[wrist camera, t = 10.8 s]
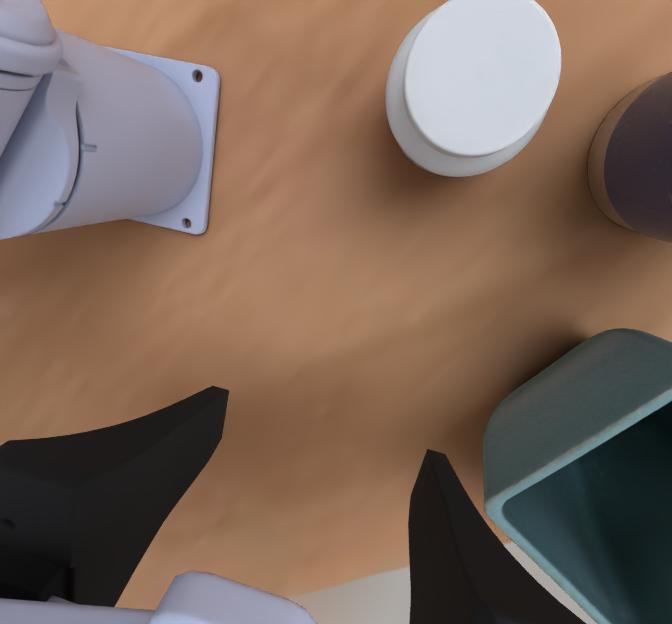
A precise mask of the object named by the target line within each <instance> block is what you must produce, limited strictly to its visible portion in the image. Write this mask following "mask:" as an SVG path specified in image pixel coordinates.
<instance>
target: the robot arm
mask: <svg viewBox="0 0 672 624" xmlns="http://www.w3.org/2000/svg"><path fill="white" fill-rule="evenodd" d="M198 72H201V73H202V76H203V77H202V80H201V81H200V82H197V80H196V75H197V73H198ZM219 91H220V76H219V73H218V72H217V71H216V70H215V69H213V68H211V67H209V66H204V65H199V64H194V63H189V62H184V61H178V60H173V59H168V58H163V57H157V56H152V55H147V54H142V53H137V52H131V51H126V50H121V49H116V48H111V47H105V46H100V45H97V44H95V43H92V42H90V41H87V40H85V39H82V38H80V37H77V36H75V35H72V34H70V33H67V32H65V31H62V30H60V29H57V28H55V27H53V25H52V23H51V20H50V18H49V15H48V13H47V11H46V8H45V7H44V5H43V3H42V2H41V0H0V240H2V239H6V238H12V237H18V236H24V235H30V234H36V233H42V232H48V231H54V230H60V229H66V228H72V227H78V226H84V225H90V224H96V223H103V222H109V221H115V220H121V219H130V220H135V221H139V222H143V223H148V224H152V225H156V226H160V227H165V228H169V229H173V230H178V231H182V232H186V233H190V234H195V235H199V234H202V233H204V232H205V231H206V229H207V223H208V212H209V201H210V190H211V179H212V168H213V157H214V146H215V135H216V124H217V113H218V102H219ZM186 219H189V220H190V221H191V226H190V227H188V226H187V225H186V222H185V221H186ZM228 395H229V390H226V389H223V388H219V387H216V386H212V387H209V388H207V389H205V390H203V391H201V392H198V393H196V394H194V395H192V396H190V397H188V398H186V399H184V400H181V401H179V402H177V403H175V404H173V405H170V406H168V407H166V408H163V409H161V410H158V411H156V412H153V413H151V414H148V415H146V416H143V417H140V418H137V419H134V420H131V421H128V422H124V423H121V424H118V425H114V426H110V427H106V428H101V429H97V430H92V431H88V432H83V433H77V434H71V435H65V436H58V437H50V438H39V439H26V440H10V441H7V442H6V443H4V444H3V445H1V446H0V624H317V623H316V622H315V621H314V619H313V618H312V617H311V615H310V614H309V613H308V611H307V610H306V609H305V608H303V607H302V606H300V605H298V604H296V603H295V602H293V601H291V600H289V599H286V598H283V597H280V596H277V595H274V594H271V593H268V592H265V591H262V590H259V589H256V588H253V587H250V586H247V585H244V584H241V583H238V582H236V581H233V580H230V579H227V578H224V577H221V576H218V575H215V574H212V573H207V572H199V571H189V572H186V573H184V574H181V575H178V576H176V577H175V578H174V580H173V582H172V583H171V585H170V587H169V588H168V590H167V592H166V594H165V595H164V597H163V599H162V600H161V602H160V604H159V606H158V607H157V609H156V610H144V609H131V608H118V607H115V605H116V603H117V601H118V599H119V598H120V596H121V594H122V592H123V590H124V589H125V587H126V585H127V583H128V581H129V580H130V578H131V576H132V574H133V573H134V571H135V569H136V567H137V566H138V564H139V562H140V560H141V559H142V557H143V555H144V554H145V552H146V550H147V548H148V547H149V545H150V543H151V542H152V540H153V539H154V537H155V535H156V534H157V532H158V530H159V529H160V527H161V525H162V524H163V522H164V521H165V519H166V518H167V516H168V515H169V513H170V512H171V511H172V509H173V508H174V507H175V505H176V504H177V503H178V501H179V500H180V499H181V497H182V496H183V495H184V493H185V492H186V491H187V489H188V488H189V487H190V485H191V484H192V483H193V481H194V480H195V479H196V477H197V476H198V475H199V473H200V472H201V471H202V469H203V468H204V467H205V465H206V464H207V463H208V461H209V460H210V458H211V456H212V454H213V453H214V451H215V449H216V447H217V446H218V444H219V442H220V440H221V438H222V433H223V427H224V420H225V414H226V408H227V401H228ZM408 528H409V556H410V580H411V607H410V624H586V623H585V622H583V621H582V620H581V619H580V618H579V617H577V616H576V615H575V614H574V613H572V612H571V611H570V610H569V609H568V608H566V607H565V606H564V605H563V604H561V603H560V602H559V601H558V600H557V599H556V598H554V597H553V596H552V595H551V594H550V593H549V592H548V591H547V590H546V589H545V588H543V587H542V586H541V585H540V584H539V583H538V582H537V581H536V580H535V579H534V578H533V577H532V576H531V575H530V574H529V573H528V572H527V571H526V570H525V569H524V568H523V567H522V566H521V564H520V563H519V562H518V561H517V560H515V558H514V557H513V556H512V555H511V553H510V552H509V551H508V550H507V549H506V548H505V547H504V545H503V544H502V543H501V542H500V540H499V539H498V538H497V537H496V535H495V534H494V533H493V532H492V530H491V529H490V528H489V526H488V525H487V523H486V522H485V521H484V519H483V518H482V516H481V515H480V513H479V512H478V510H477V509H476V507H475V506H474V504H473V503H472V501H471V499H470V498H469V496H468V494H467V493H466V491H465V489H464V488H463V486H462V484H461V482H460V480H459V479H458V477H457V475H456V473H455V471H454V469H453V468H452V466H451V464H450V462H449V460H448V458H447V457H446V455H445V454H443V453H440V452H436V451H433V450H429V449H427V452H426V455H425V457H424V460H423V463H422V466H421V468H420V471H419V474H418V477H417V480H416V482H415V485H414V488H413V491H412V494H411V499H410V509H409V522H408Z"/></svg>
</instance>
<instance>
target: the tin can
mask: <svg viewBox="0 0 672 624" xmlns="http://www.w3.org/2000/svg"><path fill="white" fill-rule="evenodd" d="M587 173H588V182H589V186H590V190H591V193H592V195H593V198H594V200H595V202H596V203H597V205H598V207H599V208H600V209H601V210H602V212H603V213H604V214H605V215H606V216H607V217H608V218H610V219H611V220H612V221H613V222H615V223H617V224H618V225H620V226H622V227H624V228H627V229H629V230H633V231H636V232H640V233H642V234H645V235H647V236H649V237H653V238H656V239H660V240H663V241H667V242H670V243H672V72H670V73H668V74H666V75H663V76H660V77H658V78H656V79H653V80H651V81H649V82H647V83H645V84H643V85H641V86H640V87H638V88H637V89H635V90H634V91H632V92H631V93H629V94H628V95H627V96H626V97H625V98H623V99H622V100H621V101H620V102H619V103H618V104H617V105H616V106H615V107H614V108H613V109H612V110H611V111H610V113H609V114H608V115H607V117H606V118H605V119H604V121H603V122H602V124H601V126H600V128H599V129H598V131H597V133H596V135H595V138H594V140H593V143H592V146H591V149H590V153H589V159H588V172H587Z"/></svg>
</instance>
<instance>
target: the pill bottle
mask: <svg viewBox="0 0 672 624" xmlns="http://www.w3.org/2000/svg"><path fill="white" fill-rule="evenodd" d="M560 71H561V48H560V43H559V39H558V36H557V32H556V29H555V27H554V25H553V23H552V21H551V19H550V18H549V16H548V15H547V13H546V12H545V11H544V9H543V8H542V7H541V6H540V5H539V4H538V3H536V2H535V1H534V0H449V1H447V2H446V3H444V4H443V5H442V6H440V7H438V8H437V9H435V10H433V11H432V12H431V13H429V14H428V15H427V16H425V17H424V18H423V19H422V20H421V21H419V22H418V23H417V24H416V25H415V26H414V28H413V29H412V30H411V31H410V32H409V33H408V35H407V36H406V37H405V39H404V40H403V42H402V43H401V45H400V46H399V48H398V50H397V52H396V54H395V56H394V59H393V61H392V63H391V67H390V70H389V74H388V78H387V84H386V94H385V100H386V101H385V102H386V111H387V117H388V121H389V125H390V128H391V131H392V133H393V135H394V137H395V140H396V141H397V142H398V144H399V146H400V148H401V150H402V151H403V153H404V154H405V156H406V157H407V158H408V159H409V160H410V161H411V162H413V163H414V164H415V165H417V166H418V167H420V168H421V169H424V170H426V171H428V172H431V173H435V174H438V175H443V176H447V177H468V176H474V175H479V174H482V173H485V172H488V171H491V170H493V169H495V168H497V167H499V166H501V165H503V164H504V163H506V162H507V161H509V160H510V159H512V158H513V157H514V156H516V155H517V154H518V153H519V152H520V151H521V150H522V149H523V148H524V147H525V146H526V145H527V144H528V143H529V142H530V140H531V139H532V138H533V137H534V135H535V134H536V132H537V131H538V129H539V127H540V126H541V124H542V122H543V120H544V118H545V116H546V113H547V111H548V108H549V105H550V104H551V101H552V99H553V97H554V95H555V92H556V89H557V86H558V82H559V78H560Z"/></svg>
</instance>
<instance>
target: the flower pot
mask: <svg viewBox="0 0 672 624" xmlns="http://www.w3.org/2000/svg"><path fill="white" fill-rule="evenodd" d="M483 474H484V510H485V513H486V515H487V516H488V517H489V518H490V520H491V521H492V522H493V523H494V524H495V525H496V526H497V527H498V528H500V529H501V530H502V531H503V532H504V533H505V534H506V535H507V536H508V537H509V538H510V539H511V540H512V541H513V542H514V543H515V544H517V546H518V547H519V548H520V549H522V550H523V551H524V552H525V553H526V554H527V555H528V556H529V557H530V558H531V559H532V560H533V561H534V562H535V563H536V564H537V565H538V566H539V567H540V568H541V569H542V570H543V571H544V572H545V573H546V574H547V575H549V576H550V577H551V578H552V579H553V580H554V581H555V582H556V583H557V584H558V585H559V586H560V587H561V588H562V589H563V590H564V591H565V592H566V593H567V594H568V595H569V596H570V597H571V598H572V599H573V600H574V601H575V602H576V603H577V604H578V605H579V606H580V607H581V608H582V609H583V610H584V611H585V612H586V613H587V614H588V615H589V616H590V617H591V618H592V619H593V620H594V621H595V622H596V623H598V624H672V343H671V342H669V341H667V340H664V339H662V338H659V337H657V336H654V335H652V334H649V333H646V332H643V331H639V330H634V329H625V328H622V329H611V330H607V331H604V332H601V333H598V334H596V335H594V336H592V337H591V338H589V339H587V340H585V341H583V342H582V343H581V344H579V345H578V346H576V347H575V348H574V349H572V350H571V351H569V352H568V353H567V354H565V355H564V356H562V357H561V358H560V359H558V360H557V361H555V362H554V363H553V364H551V365H550V366H548V367H547V368H545V369H544V370H543V371H541V372H540V373H538V374H537V375H535V376H534V377H533V378H531V379H530V380H528V381H527V382H525V383H524V384H522V385H521V386H520V387H518V388H517V389H515V390H514V391H513V392H512V393H511V394H509V395H508V396H507V397H506V398H505V399H504V400H503V401H502V402H501V403H500V404H499V405H498V406H497V407H496V408H495V410H494V411H493V413H492V414H491V416H490V418H489V420H488V422H487V425H486V429H485V432H484V442H483Z"/></svg>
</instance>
